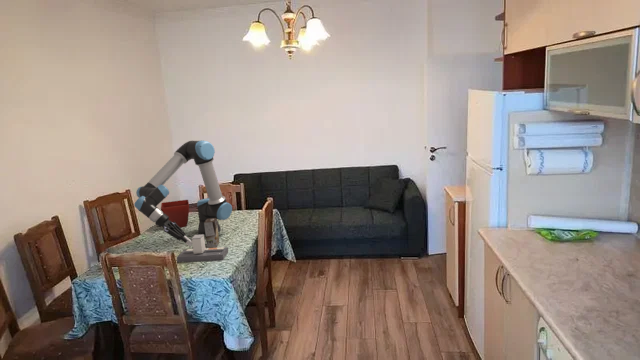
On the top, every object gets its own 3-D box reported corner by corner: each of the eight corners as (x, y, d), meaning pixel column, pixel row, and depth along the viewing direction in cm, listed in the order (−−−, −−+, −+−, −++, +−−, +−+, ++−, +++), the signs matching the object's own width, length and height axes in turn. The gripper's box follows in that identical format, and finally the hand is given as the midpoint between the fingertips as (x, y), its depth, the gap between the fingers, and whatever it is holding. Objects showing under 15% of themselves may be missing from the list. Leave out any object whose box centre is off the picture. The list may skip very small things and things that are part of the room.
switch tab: (193, 253, 239) (191, 238, 237) (197, 249, 245) (195, 234, 243) (202, 253, 239) (200, 237, 237) (205, 249, 245) (203, 234, 243)
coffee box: (217, 246, 258) (214, 221, 255) (206, 247, 258) (203, 222, 254) (219, 242, 267) (216, 217, 264) (209, 243, 267) (206, 218, 263)
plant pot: (191, 220, 323) (188, 199, 319) (191, 227, 305) (188, 204, 302) (164, 224, 317) (161, 202, 314) (163, 231, 299) (160, 208, 296)
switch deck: (177, 262, 237) (176, 256, 237) (184, 254, 249) (184, 249, 248) (223, 259, 236) (222, 254, 235) (228, 252, 248) (227, 246, 247)
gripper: (160, 219, 245) (191, 245, 248) (150, 226, 232) (183, 253, 235) (167, 210, 244) (199, 236, 246) (158, 216, 231) (192, 244, 233)
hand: (191, 244), depth 241 cm, fingers closed
